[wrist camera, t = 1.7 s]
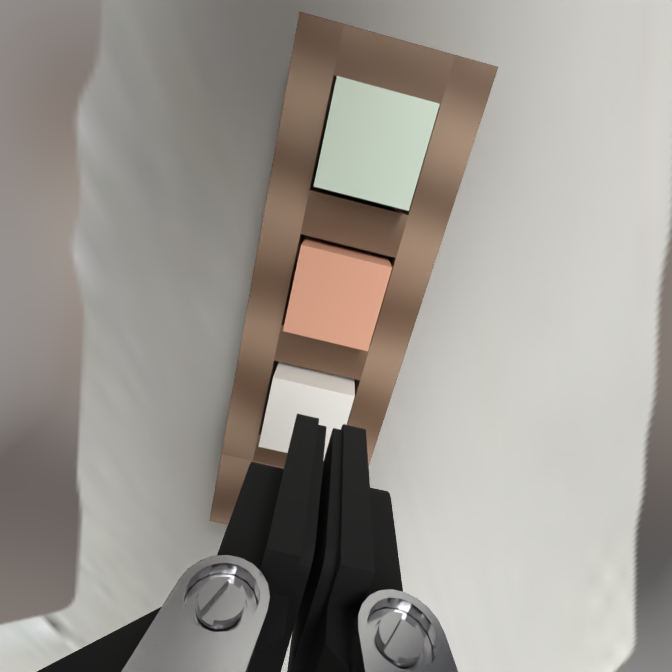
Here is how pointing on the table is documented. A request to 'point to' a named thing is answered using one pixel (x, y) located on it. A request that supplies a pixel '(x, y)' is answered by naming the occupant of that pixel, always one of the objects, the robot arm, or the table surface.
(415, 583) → the table surface
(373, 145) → the sage key
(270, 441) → the cream key
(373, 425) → the console
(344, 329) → the terracotta key
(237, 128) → the table surface
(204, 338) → the table surface
